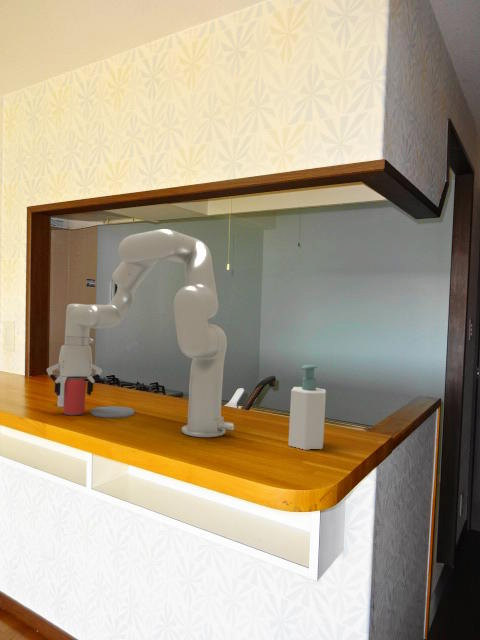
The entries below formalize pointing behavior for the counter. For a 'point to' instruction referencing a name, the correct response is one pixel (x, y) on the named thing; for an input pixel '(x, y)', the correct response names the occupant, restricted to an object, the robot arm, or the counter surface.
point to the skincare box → (61, 392)
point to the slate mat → (112, 412)
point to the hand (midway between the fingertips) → (73, 394)
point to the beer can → (74, 396)
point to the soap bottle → (307, 413)
